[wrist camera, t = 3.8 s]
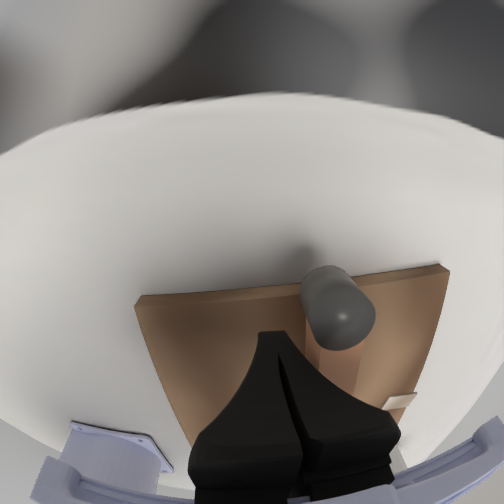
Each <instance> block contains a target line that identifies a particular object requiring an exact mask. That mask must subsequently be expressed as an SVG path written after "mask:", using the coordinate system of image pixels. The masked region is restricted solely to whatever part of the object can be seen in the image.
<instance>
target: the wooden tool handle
mask: <svg viewBox="0 0 504 504" xmlns="http://www.w3.org/2000/svg"><path fill="white" fill-rule="evenodd" d="M299 300H300V303H301V305H302V308H303V310H304V313H305V315H306V341H305V357H306V359H307V360H308V361H309V362H310V363H311V364H312V365H313V366H314V367H315V368H316V369H317V370H318V371H319V372H320V373H321V374H322V375H324V376H325V377H326V378H327V379H328V380H330V381H331V382H332V383H333V384H335V385H336V386H337V387H339V388H340V389H342V390H344V391H345V392H347V393H348V394H350V395H352V396H353V392H354V388H355V384H356V379H357V375H358V370H359V366H360V361H361V356H362V351H363V345H364V340H365V338H366V337H367V336H368V334H369V333H370V332H371V330H372V328H373V326H374V323H375V319H376V312H375V308H374V306H373V304H372V302H371V301H370V300H369V299H368V298H367V296H366V295H365V294H364V293H363V292H362V291H361V289H360V288H359V287H358V286H357V285H356V283H355V282H354V281H353V280H352V279H351V278H350V276H349V275H348V274H347V273H346V272H345V271H344V270H343V269H341V268H339V267H336V266H323V267H319V268H317V269H315V270H313V271H312V272H311V273H309V274H308V275H307V276H306V277H305V279H304V280H303V282H302V284H301V286H300V289H299Z"/></svg>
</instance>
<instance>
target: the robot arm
mask: <svg viewBox="0 0 504 504" xmlns="http://www.w3.org/2000/svg"><path fill="white" fill-rule="evenodd" d="M69 426H70V427H71V428H72V429H73V430H72V432H71V434H70V436H69V438H68V440H67V443H66V445H65V447H64V449H63V452H62V454H61V457H60V459H59V460H58V459H55V458H53V457H51V456H47V457H46V459H45V461H44V464H43V466H42V468H41V471H40V473H39V475H38V478H37V480H36V483H35V485H34V488H33V490H32V493H31V496H30V499H31V500H33V501H34V502H35V503H37V504H450V503H451V502H453V501H454V500H456V499H458V498H459V497H461V496H462V495H464V494H465V493H467V492H468V491H470V490H471V489H472V488H474V487H475V486H477V485H478V484H480V483H481V482H482V481H484V480H485V479H486V478H488V477H489V476H490V475H491V474H493V473H494V472H495V471H496V470H497V469H498V468H499V467H500V466H502V465H503V464H504V424H503V423H502V422H501V420H500V419H499V418H498V416H495V417H494V418H492V419H491V420H489V421H487V422H486V423H484V424H483V425H482V426H481V427H480V428H479V429H478V430H477V431H476V432H475V433H474V434H473V436H472V437H471V438H470V439H468V440H466V441H464V442H462V443H461V444H459V445H457V446H455V447H453V448H452V449H450V450H448V451H446V452H444V453H442V454H440V455H438V456H436V457H434V458H432V459H430V460H428V461H425V462H423V463H421V464H418V465H416V466H413V467H411V468H409V469H406V470H403V471H401V472H398V473H396V474H393V472H392V470H391V467H390V465H389V464H391V463H392V460H391V458H390V455H389V454H390V452H391V451H392V450H393V448H394V447H395V445H396V444H397V443H398V441H399V439H400V437H401V431H400V429H399V427H398V425H397V423H396V422H395V420H394V418H393V417H392V416H391V414H390V412H388V411H385V410H382V409H380V408H377V407H374V406H372V405H369V404H367V403H365V402H363V401H361V400H359V399H357V398H355V397H353V396H352V395H350V394H348V393H347V392H345V391H344V390H342V389H340V388H339V387H337V386H336V385H335V384H333V383H332V382H331V381H330V380H328V379H327V378H326V377H325V376H324V375H322V374H321V373H320V372H319V371H318V370H317V369H316V368H315V367H314V366H313V365H312V364H311V363H310V362H309V361H308V360H307V359H306V357H305V356H304V355H303V354H302V353H301V352H300V350H299V349H298V348H297V347H296V345H295V344H294V343H293V341H292V340H291V339H290V337H289V336H288V334H287V332H285V331H284V330H281V331H262V332H259V333H258V342H257V347H256V351H255V354H254V357H253V360H252V362H251V365H250V367H249V369H248V371H247V374H246V376H245V378H244V380H243V381H242V383H241V385H240V387H239V388H238V390H237V391H236V393H235V394H234V396H233V397H232V399H231V400H230V401H229V403H228V404H227V405H226V407H225V408H224V409H223V410H222V411H221V412H220V413H219V415H218V416H217V417H216V418H215V419H214V420H213V421H212V422H211V423H210V424H209V425H208V426H207V427H205V428H204V429H203V430H202V431H201V432H200V433H199V434H198V436H197V438H196V441H195V443H194V445H193V447H192V450H191V453H190V457H189V463H188V475H189V477H190V478H191V480H192V482H193V484H194V485H195V487H196V488H195V500H192V499H183V498H175V497H168V496H161V495H156V489H157V484H158V478H159V473H160V472H161V473H170V474H172V473H174V470H173V468H172V467H171V466H170V464H169V463H168V462H167V460H166V459H165V458H164V456H163V455H162V454H161V452H160V451H159V449H158V448H157V447H156V445H155V444H154V442H153V441H152V439H151V438H150V437H148V436H144V435H136V434H129V433H122V432H116V431H111V430H106V429H101V428H96V427H91V426H87V425H83V424H79V423H75V422H70V423H69Z"/></svg>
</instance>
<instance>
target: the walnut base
mask: <svg viewBox="0 0 504 504" xmlns="http://www.w3.org/2000/svg"><path fill="white" fill-rule="evenodd" d="M449 275H450V271H449V270H448V269H446V268H445V267H443V266H441V265H440V264H437V265H431V266H425V267H418V268H412V269H405V270H399V271H392V272H385V273H378V274H370V275H363V276H355V277H350V278H351V279H352V280H353V281H354V282H355V283H356V285H357V286H358V287H359V288H360V289H361V291H362V292H363V293H364V294H365V295H366V296H367V298H368V299H369V300H370V301H371V302H372V304H373V306H374V308H375V312H376V319H375V323H374V326H373V328H372V330H371V332H370V333H369V334H368V336H367V337H366V338H365V340H364V345H363V351H362V356H361V361H360V366H359V370H358V375H357V379H356V384H355V388H354V392H353V397H355V398H357V399H359V400H361V401H363V402H365V403H367V404H369V405H372V406H374V407H377V408H380V409H382V410H385V411H388V412H390V414H391V416H392V417H393V418H394V420H395V422H396V423H397V425H398V423H399V421H400V419H401V417H402V415H403V413H404V411H405V409H406V407H407V406H409V404H410V403H411V402H412V400H413V399H414V398H415V396H416V395H417V392H413V391H414V389H415V387H416V384H417V382H418V379H419V377H420V374H421V372H422V369H423V367H424V364H425V361H426V359H427V356H428V353H429V350H430V347H431V344H432V341H433V338H434V335H435V332H436V328H437V325H438V321H439V318H440V314H441V310H442V306H443V302H444V298H445V294H446V290H447V285H448V280H449ZM301 284H302V283H296V284H287V285H277V286H267V287H257V288H246V289H234V290H222V291H210V292H196V293H182V294H166V295H148V296H141V297H140V298H139V300H138V301H137V303H136V304H135V306H134V309H135V312H136V315H137V318H138V321H139V324H140V328H141V331H142V334H143V336H144V339H145V342H146V345H147V348H148V351H149V353H150V356H151V359H152V361H153V364H154V367H155V369H156V372H157V374H158V377H159V379H160V381H161V384H162V386H163V389H164V391H165V393H166V396H167V398H168V400H169V402H170V405H171V407H172V409H173V411H174V413H175V415H176V417H177V420H178V422H179V424H180V426H181V428H182V430H183V432H184V434H185V436H186V438H187V440H188V441H189V443H190V445H191V447H193V445H194V443H195V441H196V438H197V436H198V434H199V433H200V432H201V431H202V430H203V429H204V428H205V427H207V426H208V425H209V424H210V423H211V422H212V421H213V420H214V419H215V418H216V417H217V416H218V415H219V413H220V412H221V411H222V410H223V409H224V408H225V407H226V405H227V404H228V403H229V401H230V400H231V399H232V397H233V396H234V394H235V393H236V391H237V390H238V388H239V387H240V385H241V383H242V381H243V380H244V378H245V376H246V374H247V371H248V369H249V367H250V365H251V362H252V360H253V357H254V354H255V351H256V347H257V342H258V333H259V332H262V331H281V330H284V331H285V332H287V334H288V336H289V337H290V339H291V340H292V341H293V343H294V344H295V345H296V347H297V348H298V349H299V350H300V352H301V353H302V354H303V355H304V356H305V341H306V315H305V313H304V310H303V308H302V305H301V303H300V300H299V289H300V286H301Z"/></svg>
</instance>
